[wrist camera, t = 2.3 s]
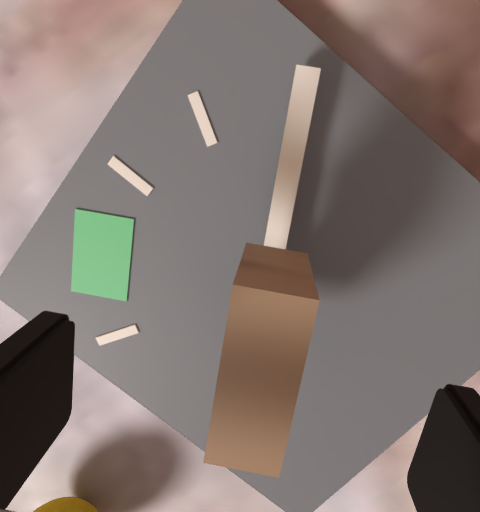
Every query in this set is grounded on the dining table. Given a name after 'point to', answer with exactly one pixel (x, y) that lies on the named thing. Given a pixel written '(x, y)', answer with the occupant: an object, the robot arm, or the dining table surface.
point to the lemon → (67, 505)
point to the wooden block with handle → (267, 320)
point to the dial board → (262, 241)
